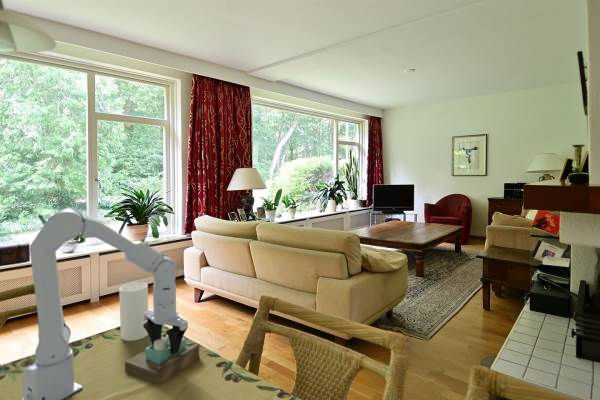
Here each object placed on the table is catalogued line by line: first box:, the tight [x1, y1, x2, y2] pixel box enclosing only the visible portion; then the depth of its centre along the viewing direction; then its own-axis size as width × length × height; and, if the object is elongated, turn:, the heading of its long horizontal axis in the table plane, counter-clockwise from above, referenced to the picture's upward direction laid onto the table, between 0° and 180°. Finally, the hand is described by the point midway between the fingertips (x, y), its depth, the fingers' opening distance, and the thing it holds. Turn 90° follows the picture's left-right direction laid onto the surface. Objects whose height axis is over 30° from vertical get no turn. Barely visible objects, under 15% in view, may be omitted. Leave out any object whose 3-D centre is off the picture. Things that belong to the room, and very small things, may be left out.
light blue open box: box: [144, 334, 187, 366], centre depth 98 cm, size 9×5×5 cm, turn 153°
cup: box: [118, 282, 149, 342], centre depth 114 cm, size 8×8×16 cm
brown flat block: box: [124, 343, 200, 385], centre depth 98 cm, size 14×13×4 cm
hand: (165, 349), depth 98 cm, fingers open, 6 cm apart
